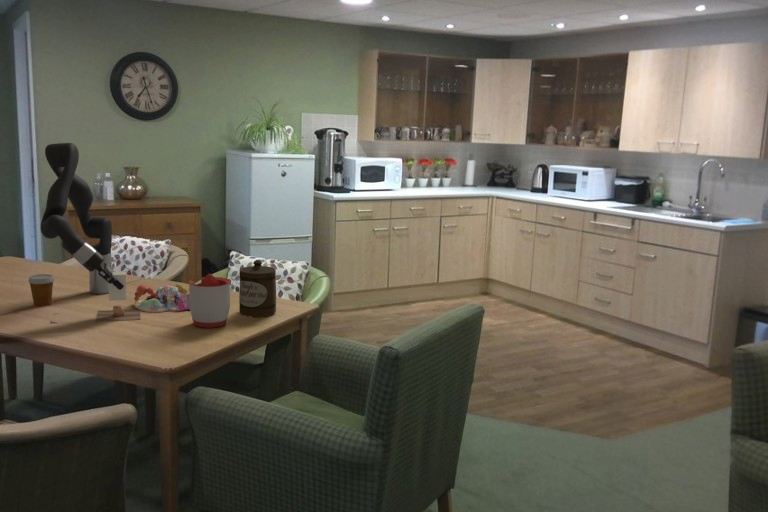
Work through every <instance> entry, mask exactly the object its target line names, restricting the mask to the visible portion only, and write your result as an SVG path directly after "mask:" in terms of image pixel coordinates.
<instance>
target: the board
mask: <svg viewBox="0 0 768 512" xmlns="http://www.w3.org/2000/svg"><path fill="white" fill-rule="evenodd" d="M125 321H128V322H129V321H141V310H139V309H137V308H135V309H134V308H133V309H132V308H131V309H124V316H120V317H115V316H113V309H112V310H111V309H110V310H109V309H108V310H107V309H106V310H97V314H96V318H95V323H106V322H125Z"/></svg>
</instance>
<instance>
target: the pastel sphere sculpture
mask: <svg viewBox="0 0 768 512" xmlns="http://www.w3.org/2000/svg"><path fill="white" fill-rule="evenodd" d="M146 294H147V295H148V296H146V298H144V299H141V300H139V299H140V298H141V297H142V296H144V295H146ZM133 300H134V301H135V302H134V303H133V307H134V308H135V309H139V310H140V312H141V311H143V312H146V313H156V314H157V313H164V312H168V311H169V312H182V311H187V310H189V311H190V303H189V288H186V286H185V285H183V284H181V283H177V284H176V285H175V286H172V285H170V284H167V285H166V284H165V285H164V286H163V287H161V286H160V287H158V288H157V289H156V292H155V291H154V288H152V287H148V288H147V286H146V285H143V284H140V285H138V286H137V288H136V291H135V292H134V299H133Z"/></svg>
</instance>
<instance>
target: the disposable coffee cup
mask: <svg viewBox="0 0 768 512" xmlns="http://www.w3.org/2000/svg"><path fill="white" fill-rule="evenodd" d="M27 281H28V283H29V287H30V292H31V297H32V302H33V306H34V307H47V306H52V299H53V287H54V281H55V278H54V275H52V274H45V273H44V274H43V273H41V274H33V275H30V276H29V279H28V280H27Z"/></svg>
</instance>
